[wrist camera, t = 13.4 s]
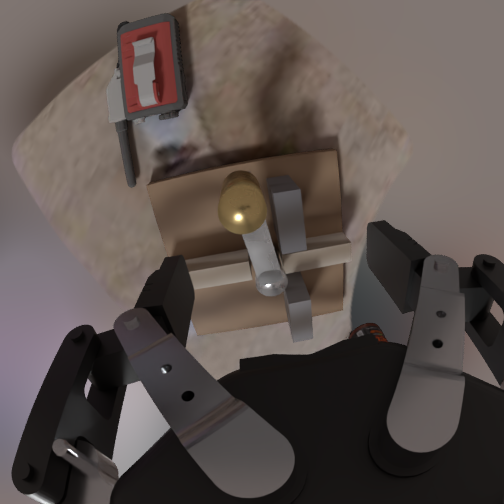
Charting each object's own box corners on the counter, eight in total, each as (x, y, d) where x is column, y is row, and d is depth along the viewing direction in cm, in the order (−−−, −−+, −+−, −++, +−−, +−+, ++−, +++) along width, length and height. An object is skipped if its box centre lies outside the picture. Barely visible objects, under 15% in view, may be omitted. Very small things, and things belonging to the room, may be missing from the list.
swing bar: (288, 284, 30) (302, 330, 23) (260, 293, 30) (266, 340, 24) (252, 163, 24) (259, 181, 17) (217, 174, 24) (210, 196, 18)
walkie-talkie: (108, 32, 21) (128, 186, 31) (91, 23, 17) (114, 196, 27) (180, 11, 21) (199, 173, 31) (172, -3, 17) (193, 182, 27)
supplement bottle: (385, 324, 42) (413, 373, 32) (366, 348, 45) (389, 398, 35) (359, 317, 41) (386, 371, 31) (340, 344, 44) (361, 397, 34)
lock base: (339, 303, 40) (356, 339, 33) (198, 328, 40) (193, 367, 33) (332, 148, 29) (359, 159, 23) (150, 182, 30) (127, 202, 23)
